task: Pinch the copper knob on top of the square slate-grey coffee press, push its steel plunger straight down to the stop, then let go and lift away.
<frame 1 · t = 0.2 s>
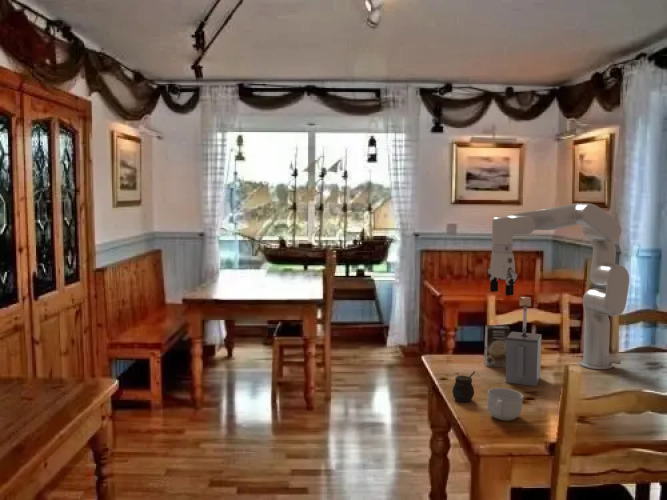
hand: (501, 293, 240), 32 cm above the table, tool pointing down, fingers open, 9 cm apart
mate gourd: (463, 400, 213), on the table
teacup: (502, 419, 195), on the table
coffee box: (496, 365, 256), on the table
press: (523, 380, 235), on the table
plunger: (524, 320, 233), point 23 cm above the table, slide at 0.0 cm
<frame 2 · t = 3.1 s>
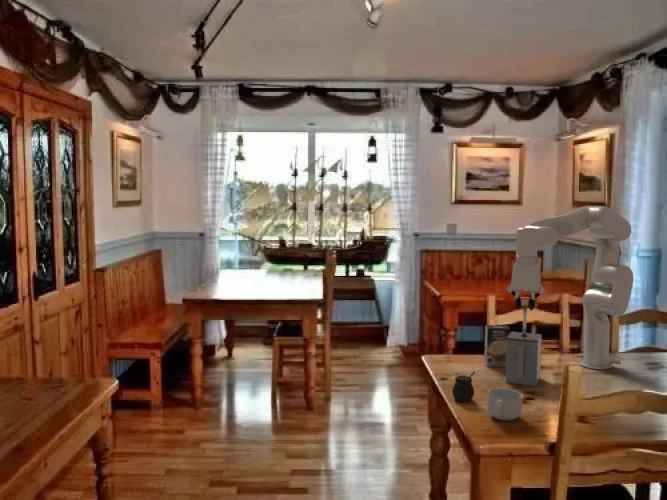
hand: (525, 308, 233), 27 cm above the table, tool pointing down, fingers closed on plunger, 4 cm apart
plunger: (524, 320, 233), point 23 cm above the table, slide at 0.0 cm, touching gripper
everything else where it was.
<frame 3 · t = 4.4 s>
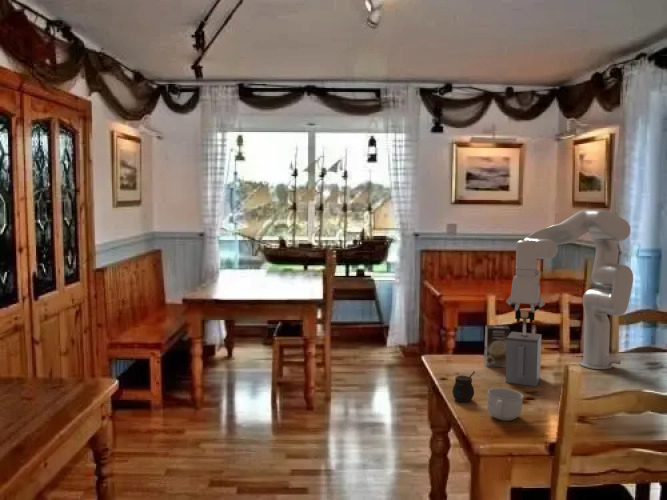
hand: (524, 321, 233), 23 cm above the table, tool pointing down, fingers closed on plunger, 4 cm apart
plunger: (524, 332, 233), point 18 cm above the table, slide at 4.7 cm, touching gripper
everything else where it was.
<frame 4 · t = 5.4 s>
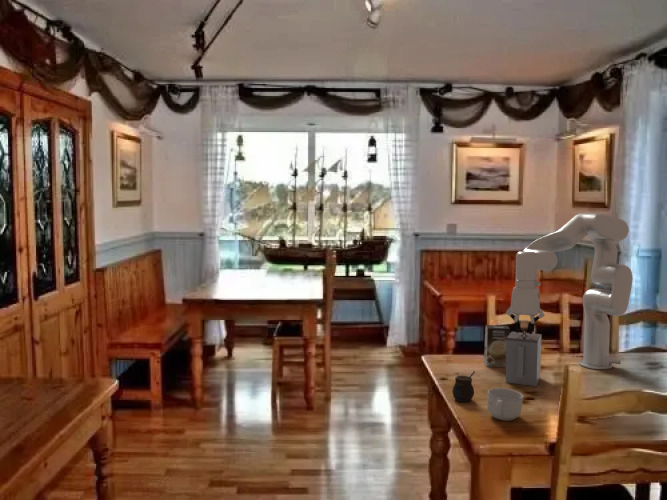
hand: (524, 332, 233), 18 cm above the table, tool pointing down, fingers closed on plunger, 4 cm apart
plunger: (524, 344, 234), point 14 cm above the table, slide at 8.9 cm, touching gripper
everything else where it was.
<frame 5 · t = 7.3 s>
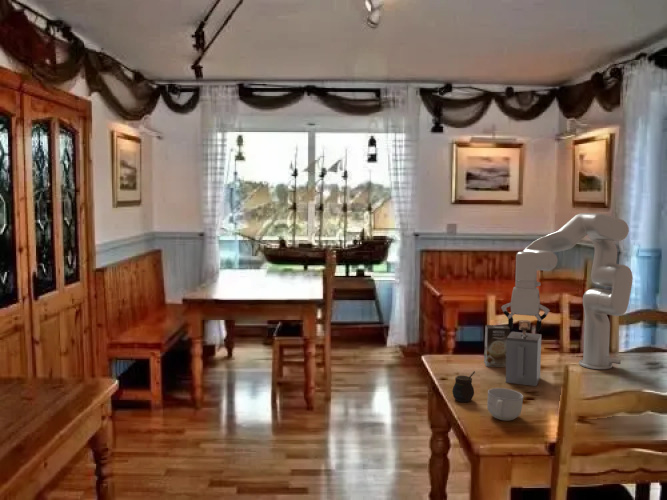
hand: (524, 329, 233), 19 cm above the table, tool pointing down, fingers open, 9 cm apart
plunger: (524, 344, 234), point 14 cm above the table, slide at 9.0 cm
everything else where it was.
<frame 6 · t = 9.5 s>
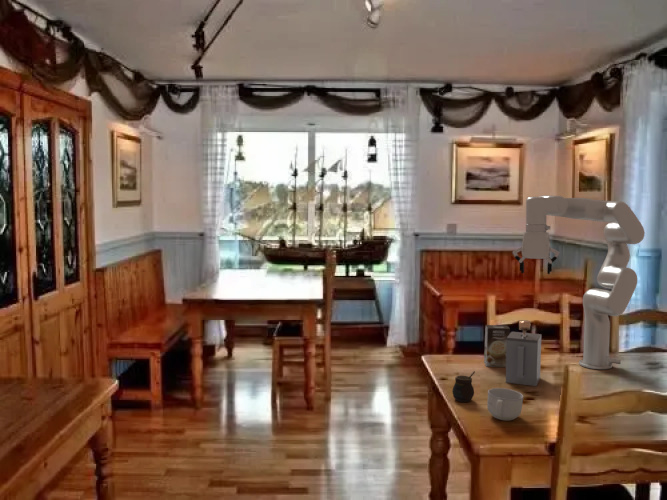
hand: (535, 273, 241), 40 cm above the table, tool pointing down, fingers open, 9 cm apart
nothing on the table moved.
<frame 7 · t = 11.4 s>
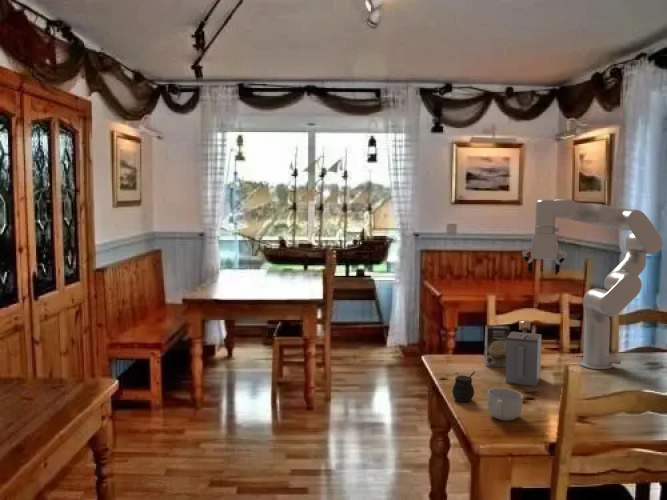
hand: (543, 273, 249), 38 cm above the table, tool pointing down, fingers open, 9 cm apart
nothing on the table moved.
at the end: plunger slide at 9.0 cm; the gripper is holding nothing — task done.
